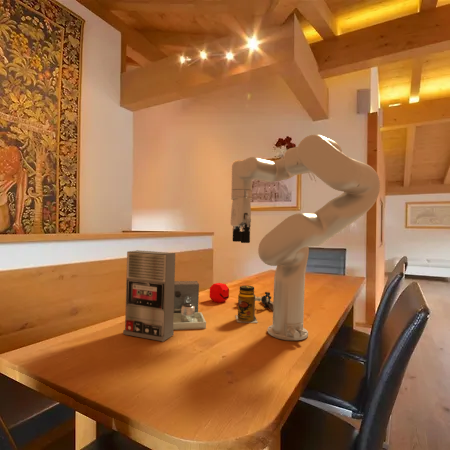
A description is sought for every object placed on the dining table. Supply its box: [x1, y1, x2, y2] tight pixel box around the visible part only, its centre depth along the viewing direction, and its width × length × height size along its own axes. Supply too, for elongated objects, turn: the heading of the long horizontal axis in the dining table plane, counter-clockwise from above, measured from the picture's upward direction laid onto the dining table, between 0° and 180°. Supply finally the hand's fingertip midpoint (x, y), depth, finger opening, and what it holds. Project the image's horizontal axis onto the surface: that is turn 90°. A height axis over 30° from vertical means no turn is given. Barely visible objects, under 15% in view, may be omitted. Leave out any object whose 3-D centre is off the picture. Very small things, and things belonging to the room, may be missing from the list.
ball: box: [209, 282, 230, 304], centre depth 137 cm, size 8×8×8 cm
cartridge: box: [181, 303, 195, 323], centre depth 106 cm, size 4×4×6 cm
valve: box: [255, 291, 272, 309], centre depth 129 cm, size 7×7×12 cm
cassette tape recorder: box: [122, 249, 176, 343], centre depth 93 cm, size 14×6×25 cm, turn 70°
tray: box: [173, 311, 207, 331], centre depth 105 cm, size 11×11×2 cm
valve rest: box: [260, 295, 273, 312], centre depth 130 cm, size 14×12×2 cm
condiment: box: [235, 285, 259, 324], centre depth 112 cm, size 7×8×12 cm
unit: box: [174, 280, 200, 313], centre depth 114 cm, size 7×10×12 cm
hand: (240, 242), depth 114 cm, fingers open, 9 cm apart
